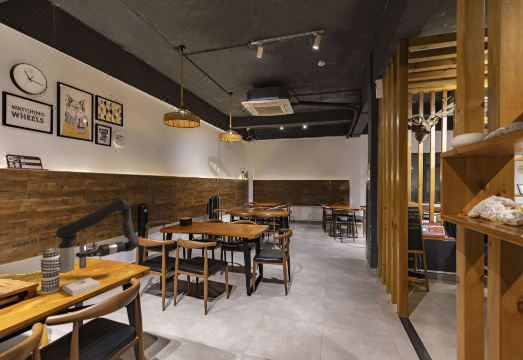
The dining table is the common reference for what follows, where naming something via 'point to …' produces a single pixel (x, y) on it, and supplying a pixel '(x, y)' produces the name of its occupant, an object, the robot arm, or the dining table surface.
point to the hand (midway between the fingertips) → (77, 255)
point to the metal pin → (82, 260)
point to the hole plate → (80, 286)
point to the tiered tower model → (50, 270)
